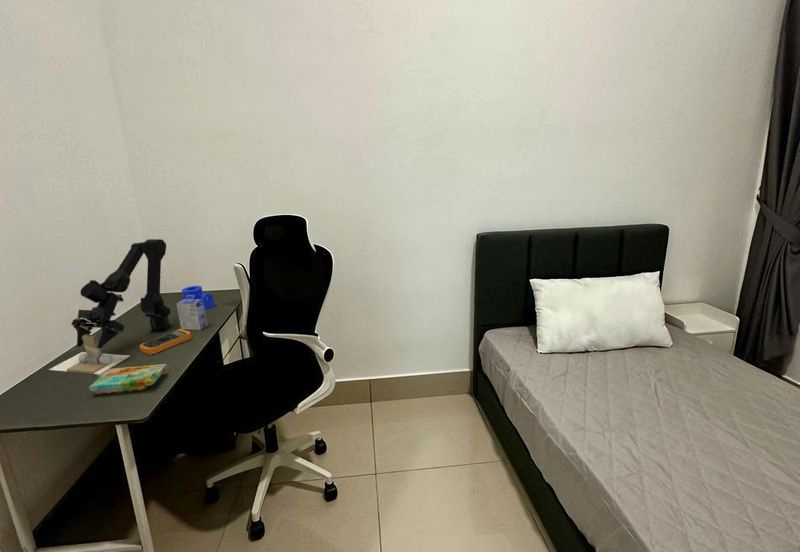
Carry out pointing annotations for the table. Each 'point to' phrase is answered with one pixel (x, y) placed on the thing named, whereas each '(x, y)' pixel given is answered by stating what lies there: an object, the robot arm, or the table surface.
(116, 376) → the puzzle game
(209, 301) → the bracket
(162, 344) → the multimeter
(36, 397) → the table surface
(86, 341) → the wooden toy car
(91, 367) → the board
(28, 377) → the table surface
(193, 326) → the ink cartridge box
